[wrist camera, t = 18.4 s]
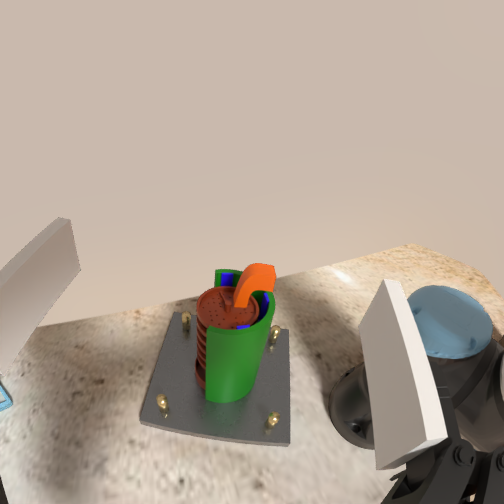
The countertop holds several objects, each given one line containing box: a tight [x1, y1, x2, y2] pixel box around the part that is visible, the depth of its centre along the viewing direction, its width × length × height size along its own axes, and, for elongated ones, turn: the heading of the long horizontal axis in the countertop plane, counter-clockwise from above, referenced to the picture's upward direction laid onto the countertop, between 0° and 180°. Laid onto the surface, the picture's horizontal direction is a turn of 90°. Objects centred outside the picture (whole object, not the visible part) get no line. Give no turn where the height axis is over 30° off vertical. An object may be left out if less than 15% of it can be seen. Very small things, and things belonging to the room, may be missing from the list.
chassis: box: [140, 311, 290, 447], centre depth 40 cm, size 20×21×4 cm
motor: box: [195, 263, 276, 403], centre depth 35 cm, size 10×9×20 cm
